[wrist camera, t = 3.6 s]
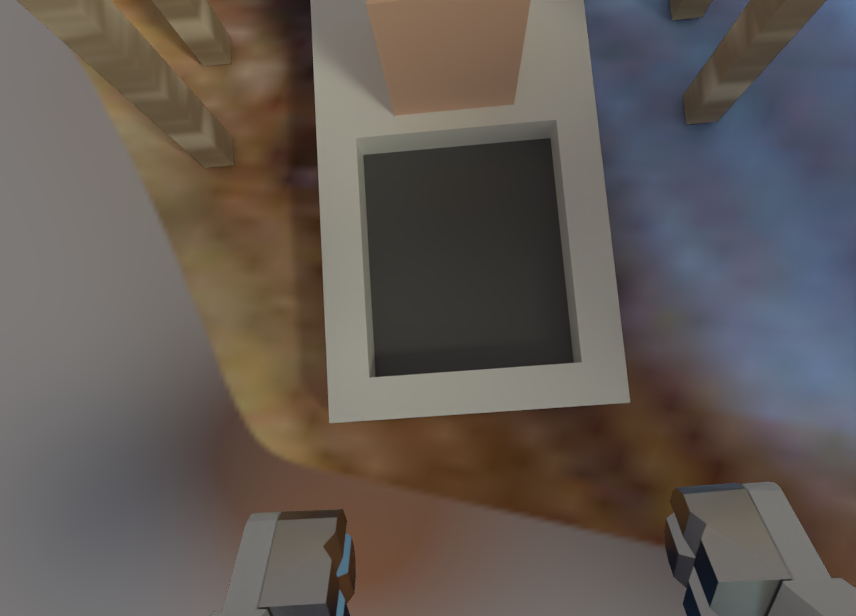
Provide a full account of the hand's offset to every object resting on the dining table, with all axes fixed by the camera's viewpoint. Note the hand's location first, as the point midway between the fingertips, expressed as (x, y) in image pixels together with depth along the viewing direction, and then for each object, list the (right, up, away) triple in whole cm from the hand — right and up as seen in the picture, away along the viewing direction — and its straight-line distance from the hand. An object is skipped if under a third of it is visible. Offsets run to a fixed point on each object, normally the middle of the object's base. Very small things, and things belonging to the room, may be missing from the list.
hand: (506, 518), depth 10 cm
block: (0, +16, +21) cm, 27 cm away
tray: (0, +14, +24) cm, 28 cm away
